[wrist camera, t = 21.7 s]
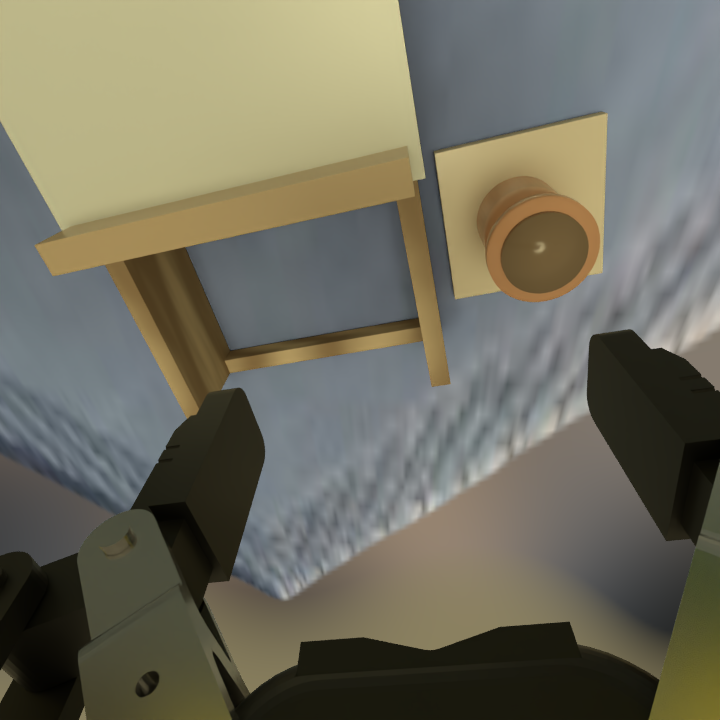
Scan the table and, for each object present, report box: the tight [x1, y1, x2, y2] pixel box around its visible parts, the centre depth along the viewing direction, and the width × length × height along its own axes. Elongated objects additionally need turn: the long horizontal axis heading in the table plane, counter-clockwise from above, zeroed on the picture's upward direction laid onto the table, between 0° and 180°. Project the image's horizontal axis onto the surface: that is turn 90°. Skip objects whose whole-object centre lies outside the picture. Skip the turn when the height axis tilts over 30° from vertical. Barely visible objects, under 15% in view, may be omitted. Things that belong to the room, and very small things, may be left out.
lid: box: [0, 0, 425, 276], centre depth 20 cm, size 19×13×4 cm
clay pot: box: [477, 176, 600, 302], centre depth 28 cm, size 6×6×7 cm
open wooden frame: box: [105, 180, 450, 419], centre depth 28 cm, size 18×28×8 cm, turn 13°
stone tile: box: [434, 112, 607, 299], centre depth 32 cm, size 10×10×1 cm
